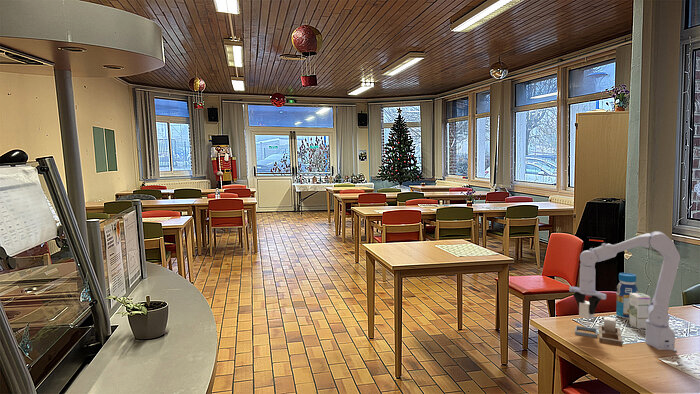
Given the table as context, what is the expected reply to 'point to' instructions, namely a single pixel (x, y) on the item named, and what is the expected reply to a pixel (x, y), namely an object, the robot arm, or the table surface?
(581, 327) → the tote
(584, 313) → the loose billet
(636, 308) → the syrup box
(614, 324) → the billet
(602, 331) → the pallet
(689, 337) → the table surface
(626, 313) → the beverage bottle
